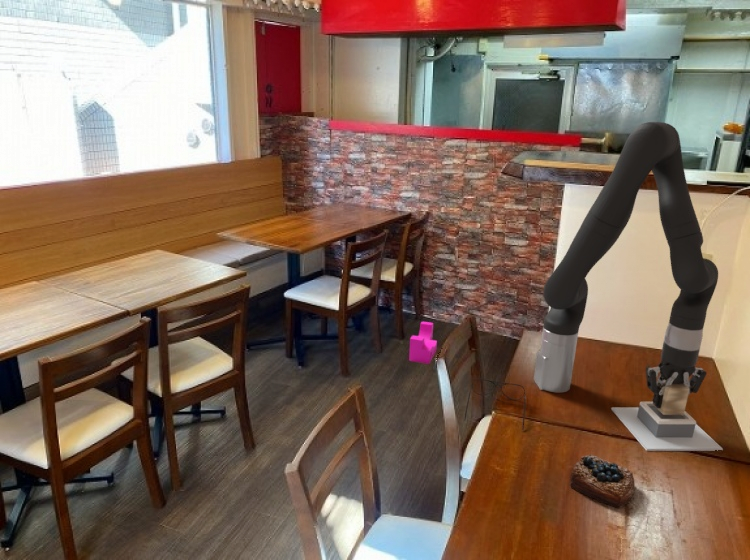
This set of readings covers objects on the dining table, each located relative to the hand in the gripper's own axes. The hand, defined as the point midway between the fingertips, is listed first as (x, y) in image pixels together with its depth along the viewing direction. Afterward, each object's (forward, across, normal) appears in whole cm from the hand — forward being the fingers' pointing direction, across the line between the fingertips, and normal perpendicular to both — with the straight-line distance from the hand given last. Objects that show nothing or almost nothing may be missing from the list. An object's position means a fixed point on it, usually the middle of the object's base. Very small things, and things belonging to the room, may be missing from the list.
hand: (668, 406), depth 133 cm
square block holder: (+6, 0, 0) cm, 6 cm away
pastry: (+7, -25, -21) cm, 34 cm away
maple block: (+1, 0, 0) cm, 1 cm away
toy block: (+7, -54, +43) cm, 69 cm away
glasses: (+7, -40, +8) cm, 41 cm away
